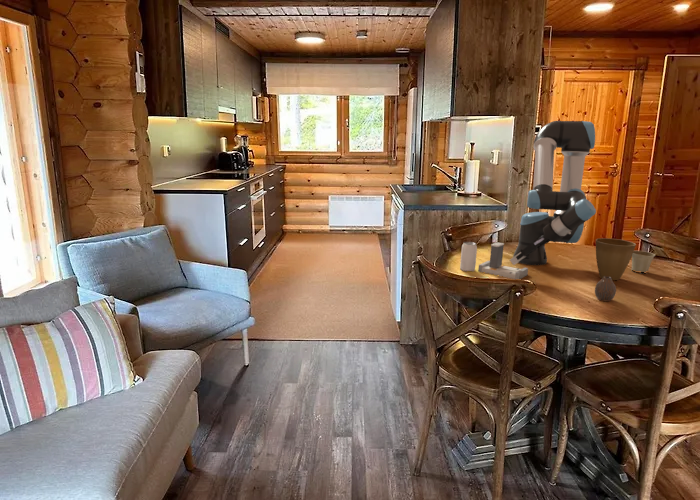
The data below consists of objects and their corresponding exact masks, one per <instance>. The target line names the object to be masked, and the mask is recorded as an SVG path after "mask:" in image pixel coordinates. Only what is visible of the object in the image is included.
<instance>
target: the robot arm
mask: <svg viewBox="0 0 700 500" xmlns="http://www.w3.org/2000/svg"><path fill="white" fill-rule="evenodd" d="M595 129H596V127H595V125H594V123H593V122H592V121H585V120H554V121H551V122H549V123H547V124H545V125H544V126H542V127H541V128H540V129H539V131H537V133H536V135H535V137H534V140H533V145H532V146H533V149H534V152H535V153H534V155H535V157H534V167H533V168H534V169H533V170H534V173H533V186H532V187H533V188H532V189H530V190H528V192H527V200H526V201H527V202H526V207H527V208H528V209H534V210H551V211H554V212H553V215H550V214H549V213H548V212H546V211H533V212H527V213H524V214H523V215H521V219H520V223H519V224H520V228H519V229H520V230H519V235H518V244H517V246H516V249H515V251H514V253H513V255H512V257H511V258H510V259H509V261H510V262H511V264H512V265H514V266H516V265H517V264H522V265H526V266H528V265H529V266H544V265H547V263H548V257H547V256H548V255H547V251H546V247H545V245H547V244H548V243H550V242H553V243H566V244H576V243H578V242H579V241H580V239H581V237H582V235H583V231H584V227H585V223H586V222H587V221H589V220H590V219H591V218H592V217H593V216H595V214H596V212H597V209H596V208H595V206H594V205H593V203H592V202H591V201H590V200H588V199H587V197H586V194H585V192H584V190H582V184H583V176H584V169H585V161H586V157H587V156H588V154H590V152H591V150H592V149H594V148H595V145H596V130H595ZM557 148H560V153H562V156H563V163H562V171H561V179H560V180H561V181H560V189H559V191H555V190H554V189H553V185H554V163H555V162H554V160H555V159H554V158H555V150H556V149H557ZM553 190H554V191H553Z"/></svg>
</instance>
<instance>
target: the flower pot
mask: <svg viewBox="0 0 700 500" xmlns="http://www.w3.org/2000/svg"><path fill="white" fill-rule="evenodd" d="M654 257H656V254H655V253H652V252H649V251H644V250H634V251H633V254H632V257H631V271H632V270H635V271H641V272H646V271H648V272H649V270H650V266H651V264H652V261H653V260H654Z"/></svg>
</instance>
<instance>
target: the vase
mask: <svg viewBox="0 0 700 500" xmlns="http://www.w3.org/2000/svg"><path fill="white" fill-rule="evenodd" d="M594 295H595V297H596V298H597V299H598V300H599V301H602V300H603V302H610V301H612V300H613V299H614V298H615V296H616V295H617V287H616V284H615V282H614V281H613V280H612V279H611V277H609V276H604V277H603V278H601V279H600V280H599V281H597V283H596V285H595V287H594Z"/></svg>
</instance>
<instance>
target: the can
mask: <svg viewBox="0 0 700 500" xmlns="http://www.w3.org/2000/svg"><path fill="white" fill-rule="evenodd" d="M477 253H478V246H477V243H476V242H473V241H463V244H462V245H461V253H460V265H459V269H460V270H461V271H462V272H467V271H472V272H474V271H475V270H476V266H477V265H476V264H477V263H476V262H477Z"/></svg>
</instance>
